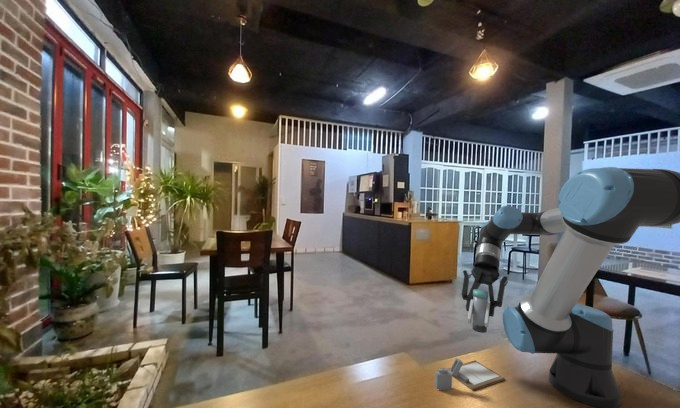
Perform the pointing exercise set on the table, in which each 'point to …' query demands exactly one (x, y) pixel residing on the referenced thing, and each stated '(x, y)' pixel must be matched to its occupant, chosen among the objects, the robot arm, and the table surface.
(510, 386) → the table surface
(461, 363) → the lighter
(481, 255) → the robot arm
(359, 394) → the table surface
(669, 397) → the table surface
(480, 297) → the grey teal cylinder
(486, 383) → the clipboard
